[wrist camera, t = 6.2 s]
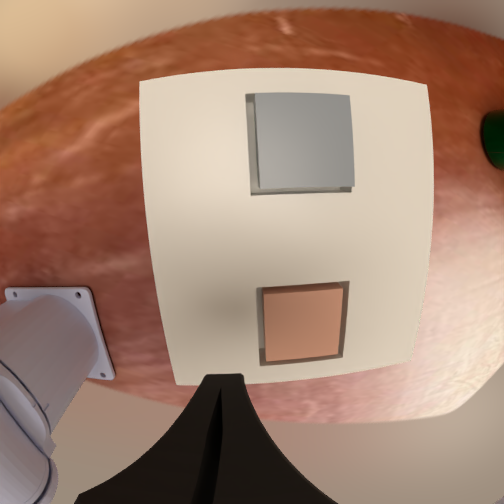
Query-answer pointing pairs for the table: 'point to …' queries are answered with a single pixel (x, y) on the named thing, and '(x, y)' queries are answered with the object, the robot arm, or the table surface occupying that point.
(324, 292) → the terracotta key
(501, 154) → the soda can
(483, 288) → the table surface
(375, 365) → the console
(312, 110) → the slate key
